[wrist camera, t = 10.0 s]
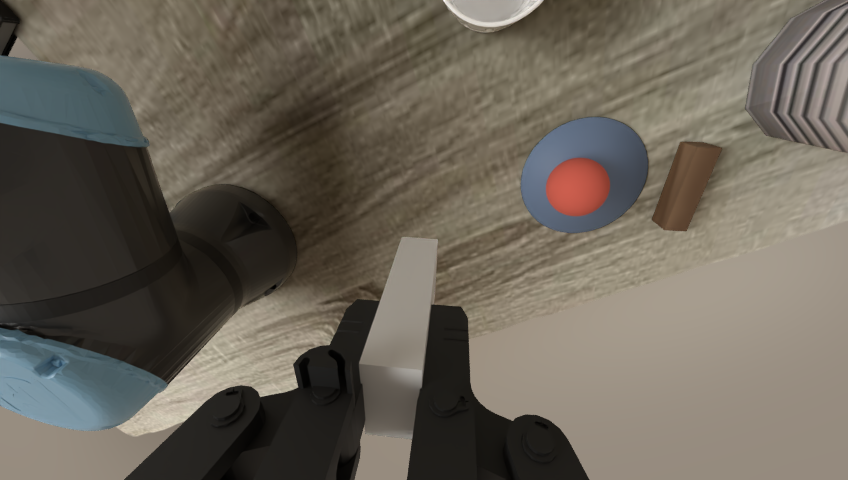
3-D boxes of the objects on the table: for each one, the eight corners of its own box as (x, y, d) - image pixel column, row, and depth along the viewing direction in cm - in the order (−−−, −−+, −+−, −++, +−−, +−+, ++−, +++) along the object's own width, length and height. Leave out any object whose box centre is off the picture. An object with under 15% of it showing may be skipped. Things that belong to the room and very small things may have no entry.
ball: (613, 218, 31) (564, 200, 35) (630, 161, 29) (576, 149, 33) (577, 230, 29) (529, 210, 33) (593, 169, 26) (539, 155, 30)
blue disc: (513, 228, 36) (513, 229, 36) (530, 115, 31) (531, 115, 31) (626, 235, 35) (626, 236, 35) (665, 118, 29) (666, 118, 29)
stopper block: (651, 219, 34) (664, 229, 32) (680, 141, 30) (697, 147, 28) (672, 220, 34) (686, 231, 32) (703, 142, 30) (722, 148, 28)
